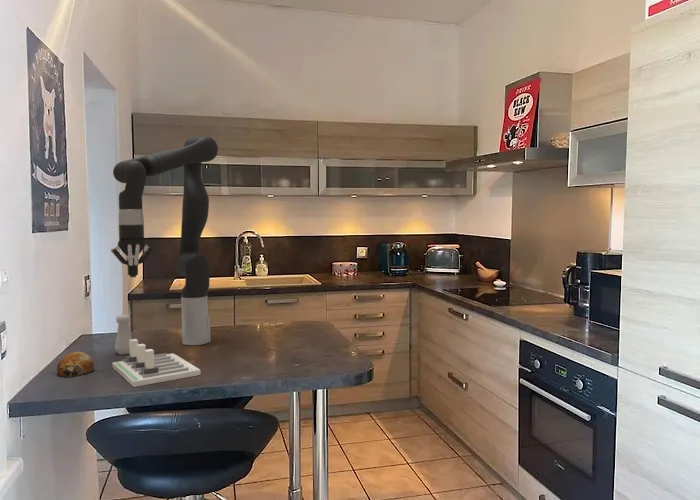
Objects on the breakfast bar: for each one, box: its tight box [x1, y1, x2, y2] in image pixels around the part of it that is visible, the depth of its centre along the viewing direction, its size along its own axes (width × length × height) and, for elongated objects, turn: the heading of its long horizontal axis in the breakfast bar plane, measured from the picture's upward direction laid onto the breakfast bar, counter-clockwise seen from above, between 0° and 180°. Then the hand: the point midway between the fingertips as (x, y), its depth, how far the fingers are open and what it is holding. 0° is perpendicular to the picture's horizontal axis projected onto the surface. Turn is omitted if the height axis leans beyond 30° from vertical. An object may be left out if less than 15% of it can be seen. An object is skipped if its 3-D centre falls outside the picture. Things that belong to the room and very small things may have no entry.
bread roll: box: [56, 351, 95, 378], centre depth 168 cm, size 10×10×8 cm
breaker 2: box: [133, 343, 147, 369], centre depth 166 cm, size 4×3×7 cm
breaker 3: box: [141, 348, 158, 376], centre depth 160 cm, size 4×3×7 cm
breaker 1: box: [125, 338, 139, 363], centre depth 173 cm, size 4×3×7 cm
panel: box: [112, 353, 202, 388], centre depth 169 cm, size 19×24×2 cm
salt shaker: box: [114, 314, 133, 356], centre depth 190 cm, size 6×6×13 cm
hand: (132, 276), depth 181 cm, fingers closed
